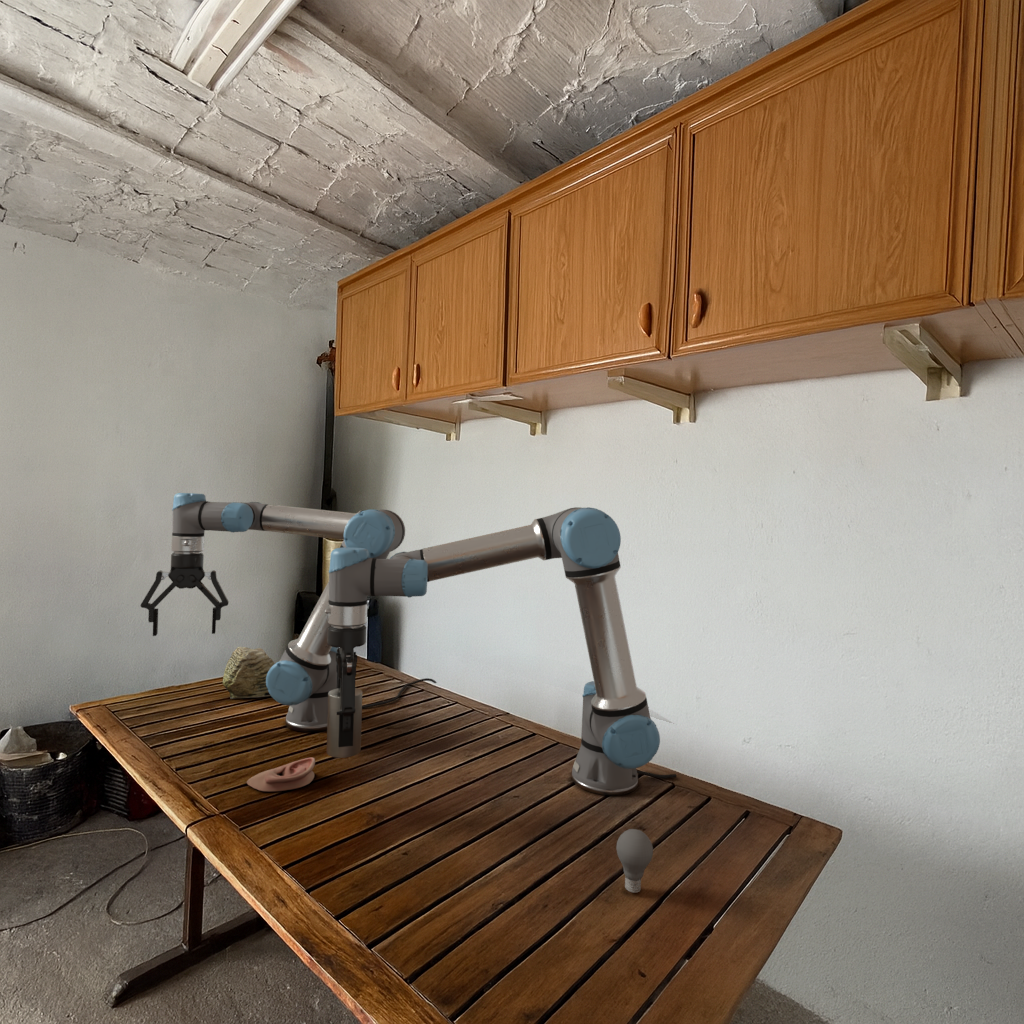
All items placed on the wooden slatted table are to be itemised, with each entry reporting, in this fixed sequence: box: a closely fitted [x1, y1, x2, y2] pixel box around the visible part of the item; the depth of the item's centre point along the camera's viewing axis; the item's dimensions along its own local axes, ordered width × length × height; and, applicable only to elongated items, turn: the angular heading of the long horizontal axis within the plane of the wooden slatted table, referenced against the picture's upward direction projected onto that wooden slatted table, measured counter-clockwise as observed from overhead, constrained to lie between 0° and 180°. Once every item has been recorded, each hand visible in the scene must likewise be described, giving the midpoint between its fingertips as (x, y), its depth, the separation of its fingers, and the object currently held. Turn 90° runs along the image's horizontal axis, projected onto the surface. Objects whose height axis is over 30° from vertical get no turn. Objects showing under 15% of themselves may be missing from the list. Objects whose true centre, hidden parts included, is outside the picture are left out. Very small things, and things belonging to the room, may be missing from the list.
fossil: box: [222, 646, 276, 699], centre depth 198 cm, size 9×18×15 cm, turn 132°
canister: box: [326, 687, 363, 759], centre depth 127 cm, size 7×7×12 cm
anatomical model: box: [246, 757, 316, 792], centre depth 140 cm, size 13×4×12 cm
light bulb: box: [615, 828, 654, 894], centre depth 106 cm, size 6×6×10 cm
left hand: (184, 633), depth 165 cm, fingers open, 13 cm apart
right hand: (344, 738), depth 127 cm, fingers closed on canister, 7 cm apart
